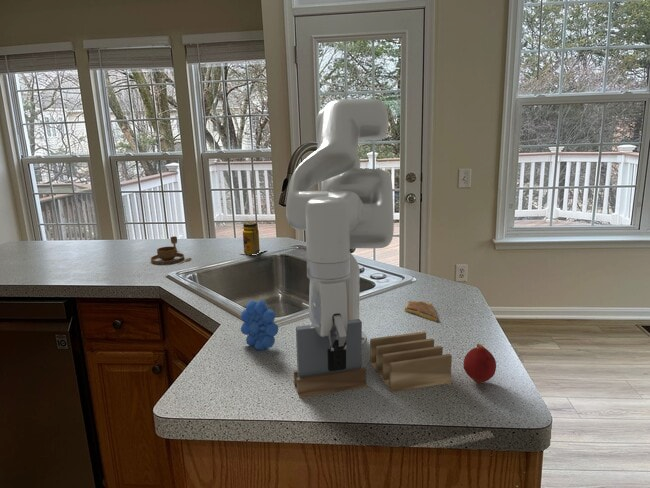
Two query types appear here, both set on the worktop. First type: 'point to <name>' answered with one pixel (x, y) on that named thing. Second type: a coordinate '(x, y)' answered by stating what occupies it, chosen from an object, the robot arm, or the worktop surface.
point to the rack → (410, 361)
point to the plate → (315, 349)
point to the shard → (422, 309)
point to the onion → (479, 364)
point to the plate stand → (330, 382)
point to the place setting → (168, 254)
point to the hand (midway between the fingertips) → (329, 356)
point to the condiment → (250, 238)
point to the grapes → (259, 325)
